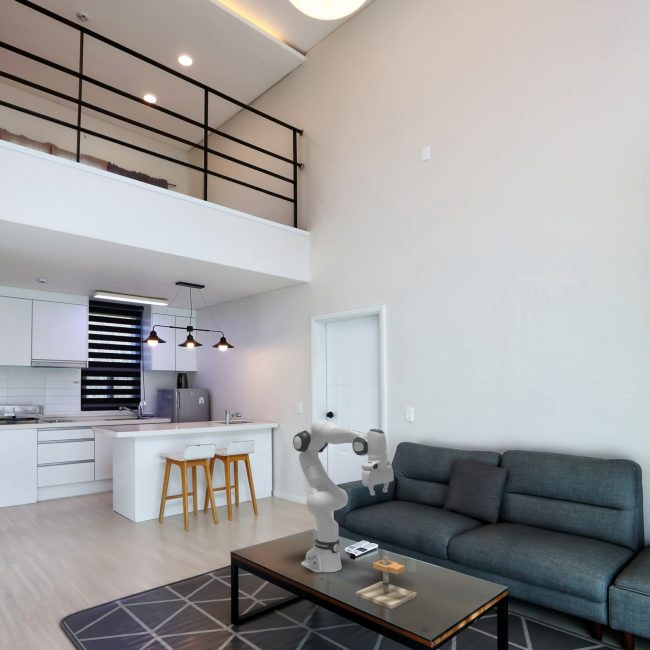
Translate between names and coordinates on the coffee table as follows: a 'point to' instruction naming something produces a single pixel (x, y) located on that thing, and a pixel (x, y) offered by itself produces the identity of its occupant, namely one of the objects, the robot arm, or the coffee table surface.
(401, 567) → the collar
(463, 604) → the coffee table surface
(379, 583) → the pipe stand
